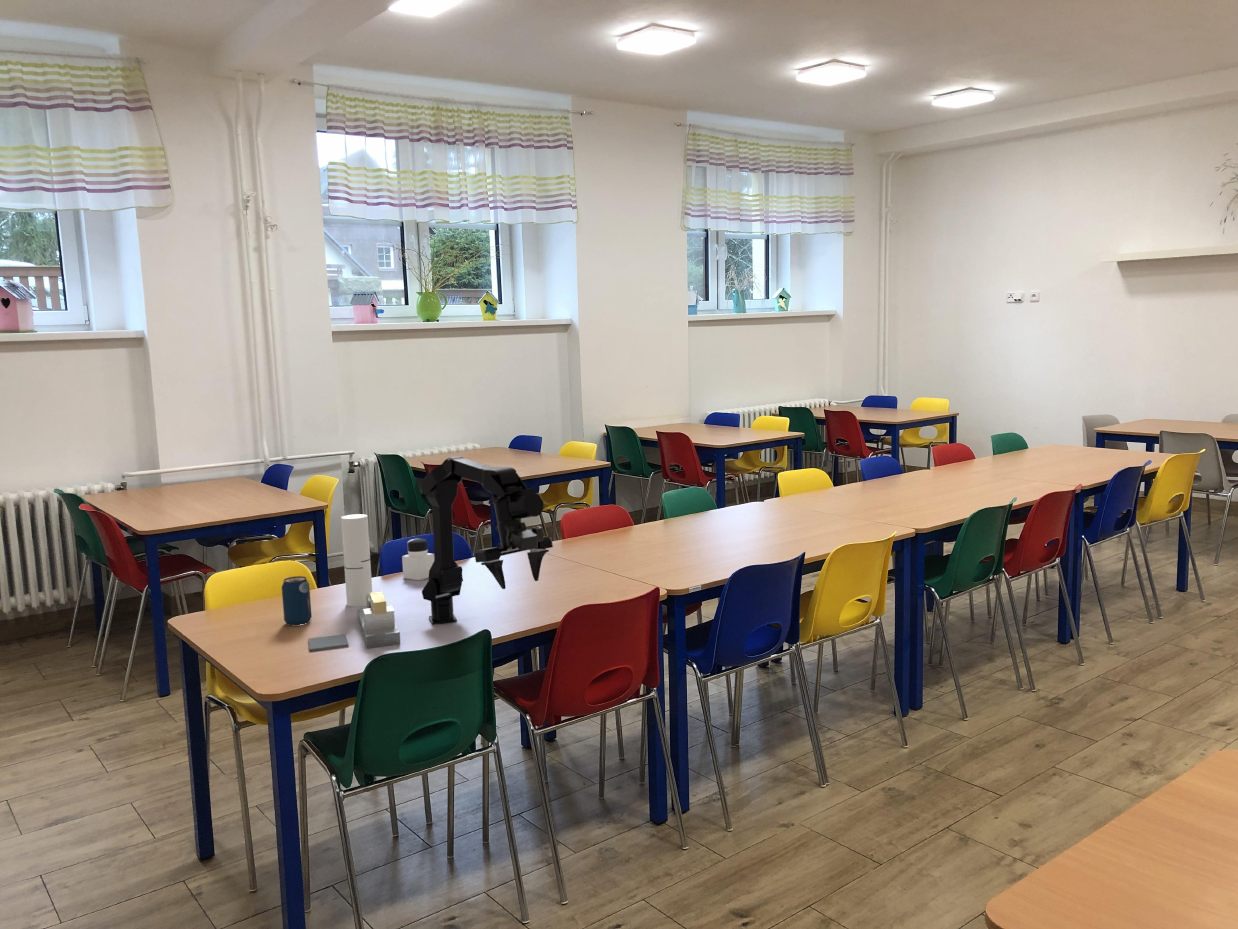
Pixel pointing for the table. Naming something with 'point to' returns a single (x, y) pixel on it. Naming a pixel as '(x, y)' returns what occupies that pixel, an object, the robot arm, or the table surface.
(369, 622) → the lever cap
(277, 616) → the table surface
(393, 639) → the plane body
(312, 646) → the mat
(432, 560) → the medicine bottle
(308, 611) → the soda can
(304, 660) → the table surface
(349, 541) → the cylindrical container
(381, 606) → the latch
